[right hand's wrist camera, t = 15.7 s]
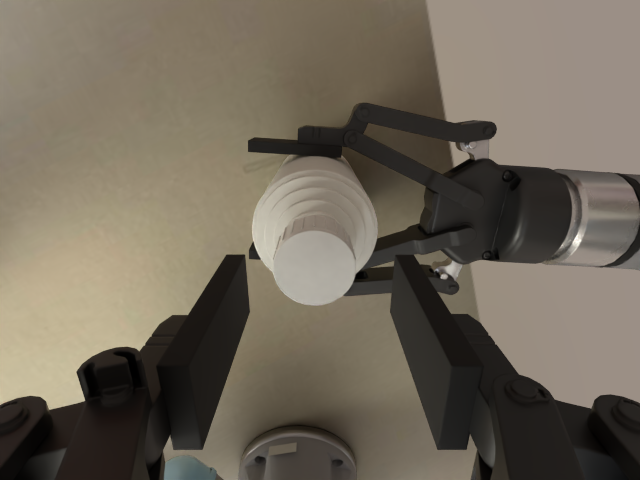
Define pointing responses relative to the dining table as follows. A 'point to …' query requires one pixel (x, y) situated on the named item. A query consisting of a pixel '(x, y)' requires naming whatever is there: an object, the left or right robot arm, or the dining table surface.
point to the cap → (314, 260)
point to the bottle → (315, 204)
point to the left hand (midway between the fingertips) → (252, 199)
